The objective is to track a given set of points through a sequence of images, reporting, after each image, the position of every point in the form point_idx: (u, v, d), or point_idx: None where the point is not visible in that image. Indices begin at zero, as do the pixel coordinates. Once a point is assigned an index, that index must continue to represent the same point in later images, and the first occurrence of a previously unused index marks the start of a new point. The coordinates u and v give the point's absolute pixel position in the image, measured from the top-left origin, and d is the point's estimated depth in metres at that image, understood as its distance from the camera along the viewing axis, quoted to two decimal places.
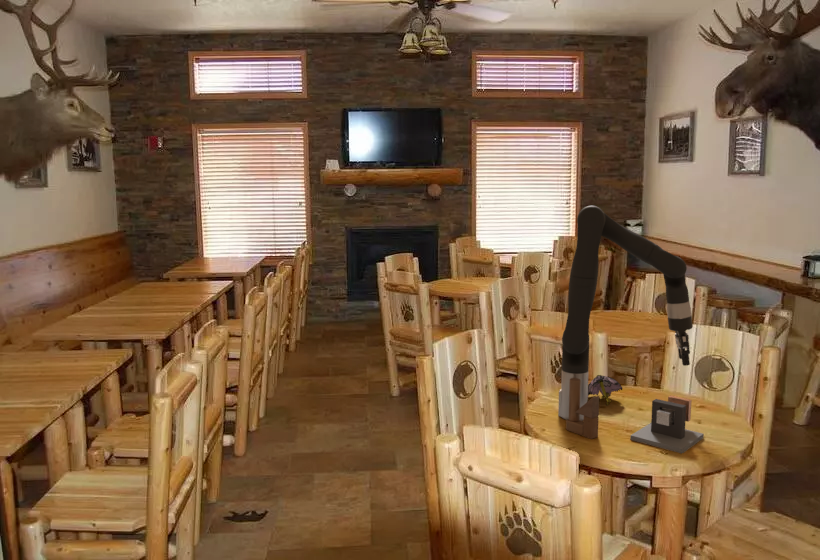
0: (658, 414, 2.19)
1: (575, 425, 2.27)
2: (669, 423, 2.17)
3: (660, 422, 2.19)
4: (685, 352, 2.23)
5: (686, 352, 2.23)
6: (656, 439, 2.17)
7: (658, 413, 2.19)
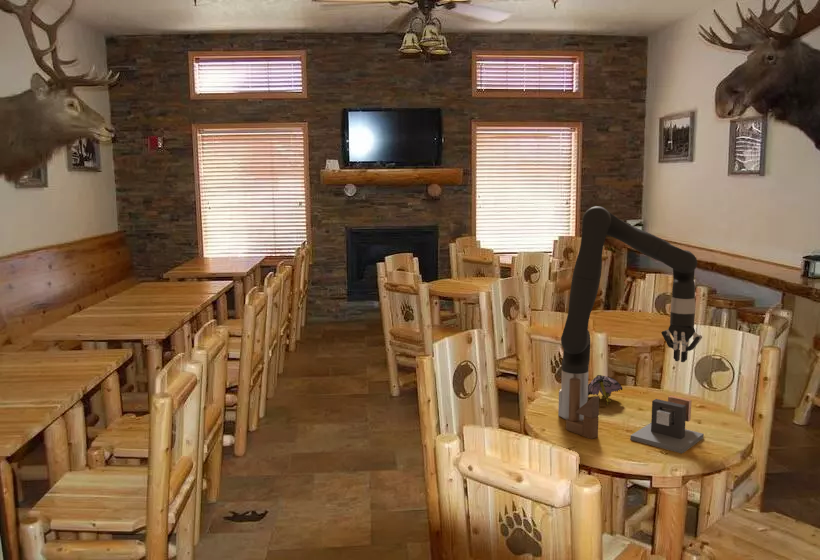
0: (658, 414, 2.19)
1: (575, 425, 2.27)
2: (669, 423, 2.17)
3: (660, 422, 2.19)
4: (692, 348, 2.26)
5: (692, 348, 2.26)
6: (656, 439, 2.17)
7: (658, 413, 2.19)
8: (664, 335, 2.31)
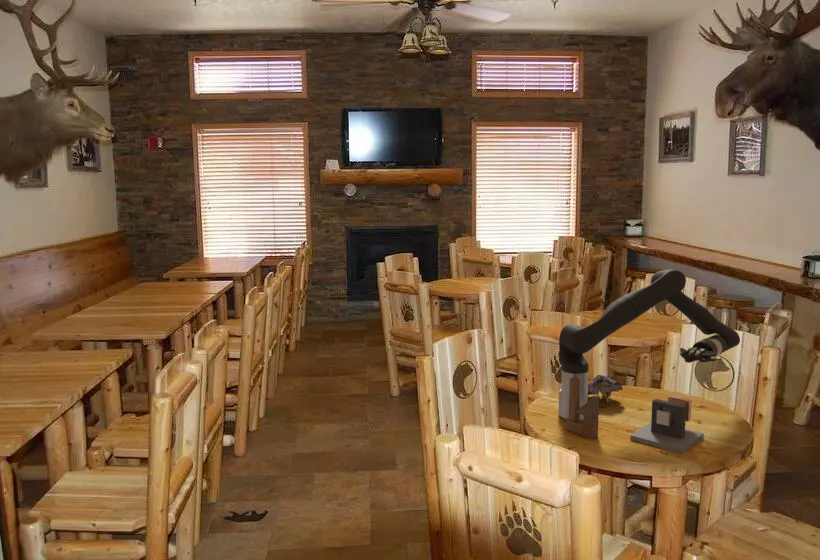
0: (658, 414, 2.19)
1: (575, 425, 2.27)
2: (669, 423, 2.17)
3: (660, 422, 2.19)
4: (703, 358, 2.30)
5: (702, 358, 2.30)
6: (656, 439, 2.17)
7: (658, 413, 2.19)
8: (682, 349, 2.37)
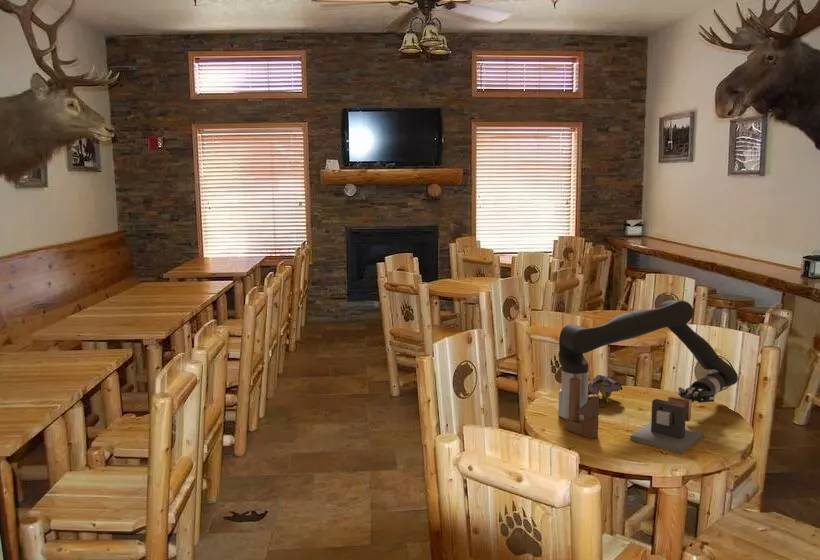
0: (658, 414, 2.19)
1: (575, 425, 2.27)
2: (669, 423, 2.17)
3: (660, 422, 2.19)
4: (701, 398, 2.32)
5: (700, 399, 2.32)
6: (656, 439, 2.17)
7: (658, 413, 2.19)
8: (681, 388, 2.40)
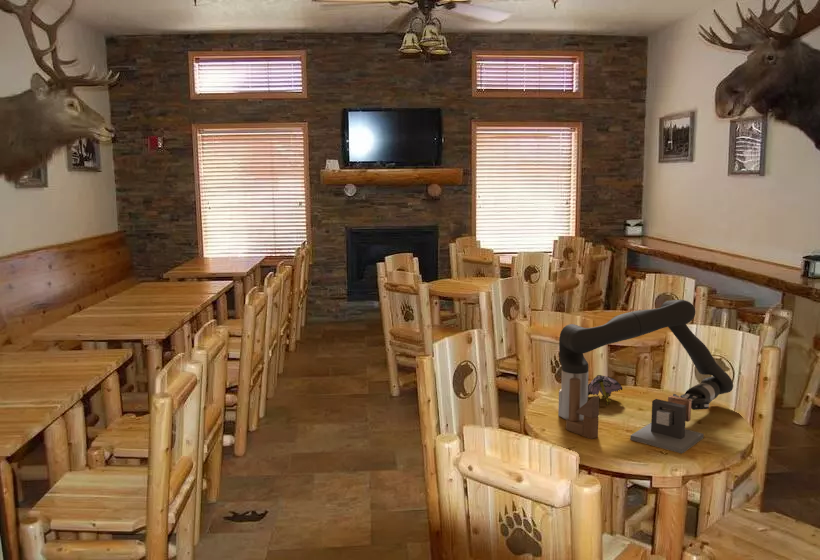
0: (658, 415, 2.19)
1: (575, 425, 2.27)
2: (669, 423, 2.17)
3: (660, 422, 2.19)
4: (695, 405, 2.29)
5: (695, 406, 2.29)
6: (656, 439, 2.17)
7: (658, 413, 2.19)
8: (675, 395, 2.37)
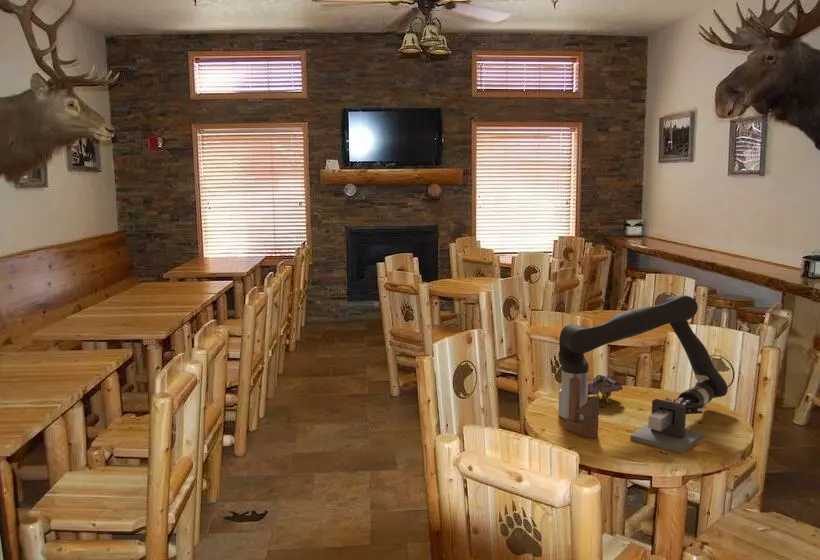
0: (650, 419, 2.15)
1: (575, 425, 2.27)
2: (661, 428, 2.13)
3: (652, 427, 2.14)
4: (688, 410, 2.25)
5: (688, 411, 2.25)
6: (656, 439, 2.17)
7: (650, 418, 2.14)
8: (668, 399, 2.33)
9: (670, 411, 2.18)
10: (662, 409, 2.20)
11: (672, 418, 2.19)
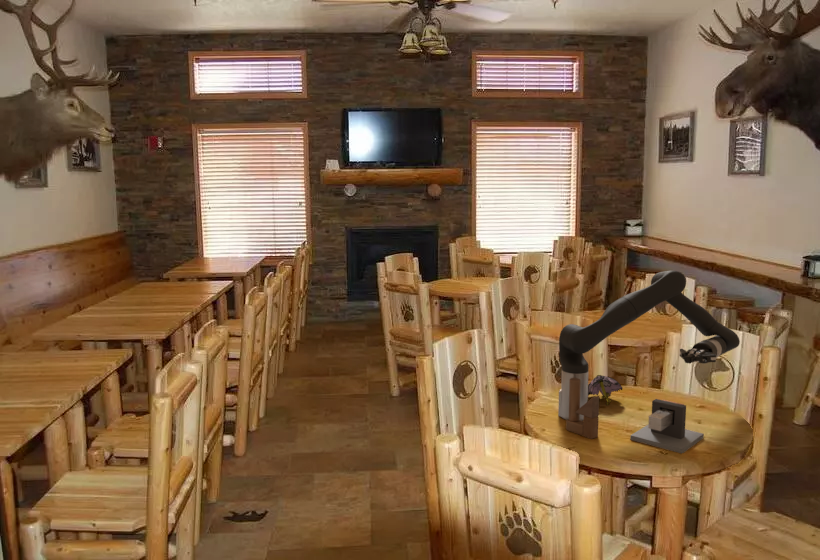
0: (650, 419, 2.15)
1: (575, 425, 2.27)
2: (661, 428, 2.13)
3: (652, 427, 2.14)
4: (702, 358, 2.30)
5: (702, 359, 2.30)
6: (656, 439, 2.17)
7: (650, 418, 2.14)
8: (682, 349, 2.37)
9: (670, 411, 2.18)
10: (662, 409, 2.20)
11: (672, 418, 2.19)
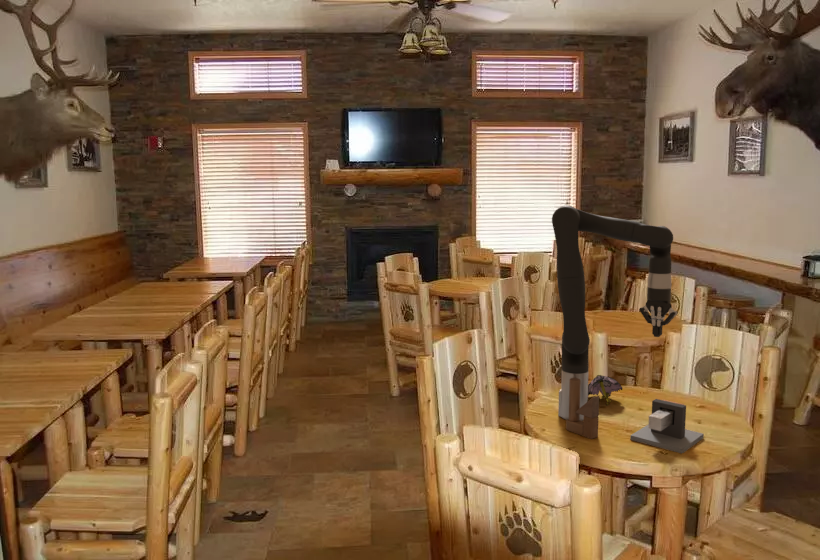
0: (650, 419, 2.15)
1: (575, 425, 2.27)
2: (661, 428, 2.13)
3: (652, 427, 2.14)
4: (666, 322, 2.28)
5: None
6: (656, 439, 2.17)
7: (650, 418, 2.14)
8: (642, 311, 2.32)
9: (670, 411, 2.18)
10: (662, 409, 2.20)
11: (672, 418, 2.19)
